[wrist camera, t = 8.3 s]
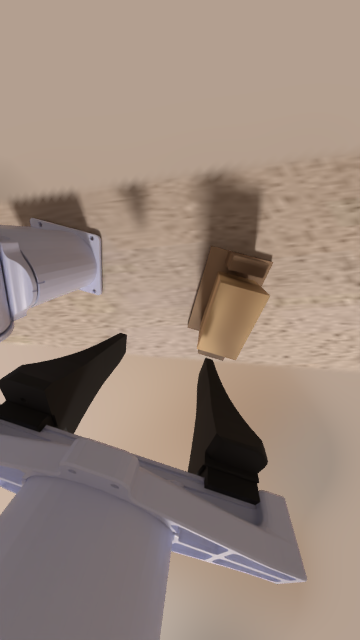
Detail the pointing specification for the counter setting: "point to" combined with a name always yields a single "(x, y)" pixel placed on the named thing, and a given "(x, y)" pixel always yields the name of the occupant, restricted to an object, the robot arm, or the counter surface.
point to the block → (230, 315)
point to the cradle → (231, 265)
